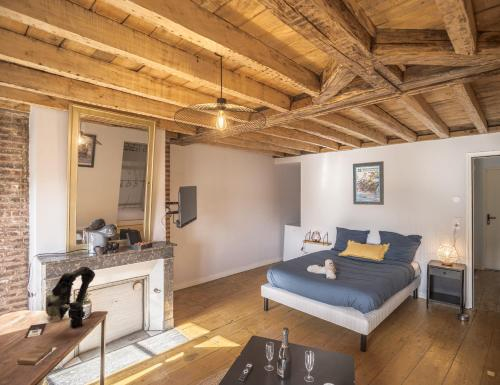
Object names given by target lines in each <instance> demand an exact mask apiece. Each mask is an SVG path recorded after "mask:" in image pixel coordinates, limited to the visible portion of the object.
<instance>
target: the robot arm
mask: <svg viewBox="0 0 500 385" xmlns="http://www.w3.org/2000/svg"><path fill="white" fill-rule="evenodd" d="M80 276H81V278H80V280H81V284H80V286H79V290H78V293H77V296H76V299H75V301H72V300H71V296H73V295H72V289H73V286H74V285H75V284H74V282H75V281H76V280H77V278H78V277H80ZM95 278H96V273H95V271H94V270H93V269H91V268H89V267H88V266H81V267H79V268H77V269H75V270H74V271H71V272H65V273H63V274H62V275H61V277H60V278H59V281H58V282H57V283H56V285H55V286H56V287H53V288H52V290H51V292H52V294H53V295H55V296H58V295H59V298H58V299H56V300H55V301H50V302H48V304H47V307H52V306H53V305H54V307H56V308H57V309H58V310H59V312H60V317H61V318H62V319H63V318H64V317H65V315H66V313H67V312H68V314H67V315H68V319H70V320H69V326H70V327H71V328H72V329H77V328H79V327H82V326H84V325H83V318H85V315H86V312H85V311H84V305H83V304H84V303H83V302H84V300H85V297H86V294H87V291H88V289H89V285H90V284H91V283H92V282H93V281H94V279H95ZM60 317H59V318H60Z"/></svg>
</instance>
